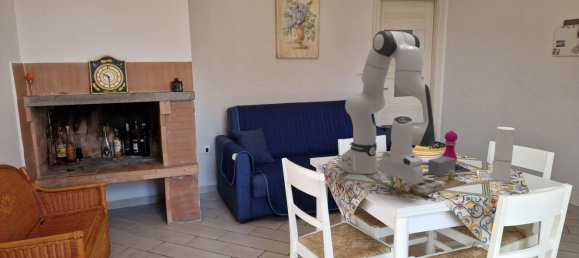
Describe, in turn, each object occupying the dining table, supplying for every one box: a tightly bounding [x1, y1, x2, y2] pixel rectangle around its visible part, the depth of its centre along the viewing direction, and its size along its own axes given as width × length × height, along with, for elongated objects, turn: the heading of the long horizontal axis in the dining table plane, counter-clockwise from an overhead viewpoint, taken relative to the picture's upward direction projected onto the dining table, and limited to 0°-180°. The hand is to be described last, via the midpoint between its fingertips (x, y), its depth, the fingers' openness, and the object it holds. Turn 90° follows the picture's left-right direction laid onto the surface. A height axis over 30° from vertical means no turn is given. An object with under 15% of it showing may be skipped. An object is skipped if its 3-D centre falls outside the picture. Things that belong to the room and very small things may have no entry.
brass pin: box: [395, 177, 404, 196], centre depth 170 cm, size 3×3×7 cm
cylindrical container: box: [491, 126, 516, 184], centre depth 182 cm, size 7×7×25 cm
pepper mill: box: [441, 128, 458, 162], centre depth 206 cm, size 7×7×20 cm
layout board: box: [402, 170, 468, 199], centre depth 177 cm, size 12×28×6 cm, turn 123°
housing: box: [427, 156, 457, 177], centre depth 194 cm, size 6×12×8 cm, turn 122°
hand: (399, 188), depth 170 cm, fingers open, 6 cm apart
